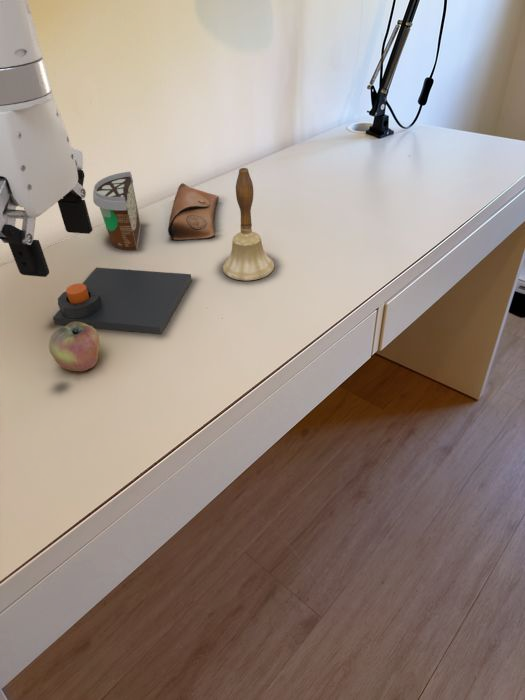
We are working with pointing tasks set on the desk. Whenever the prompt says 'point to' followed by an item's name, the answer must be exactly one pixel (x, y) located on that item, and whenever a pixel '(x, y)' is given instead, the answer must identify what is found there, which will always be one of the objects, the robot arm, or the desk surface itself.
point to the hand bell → (247, 239)
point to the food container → (119, 209)
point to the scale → (126, 300)
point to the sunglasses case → (192, 214)
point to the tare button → (77, 293)
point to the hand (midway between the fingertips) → (58, 252)
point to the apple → (75, 346)
